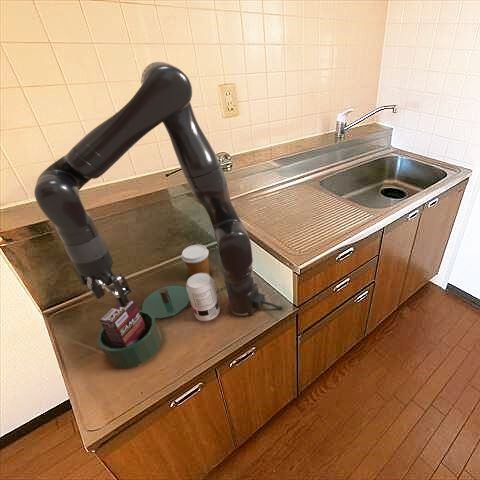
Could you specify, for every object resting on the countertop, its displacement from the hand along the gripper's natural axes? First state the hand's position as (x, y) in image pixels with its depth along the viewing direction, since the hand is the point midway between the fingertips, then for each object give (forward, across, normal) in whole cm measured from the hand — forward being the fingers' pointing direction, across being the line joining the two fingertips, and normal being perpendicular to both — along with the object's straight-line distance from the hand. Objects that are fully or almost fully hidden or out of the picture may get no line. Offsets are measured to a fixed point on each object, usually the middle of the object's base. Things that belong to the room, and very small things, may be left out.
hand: (112, 300), depth 85 cm
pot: (+20, 0, 0) cm, 20 cm away
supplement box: (+20, 0, 0) cm, 20 cm away
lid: (+19, -4, +18) cm, 26 cm away
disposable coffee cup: (+20, -2, +34) cm, 39 cm away
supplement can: (+20, +12, +19) cm, 30 cm away
